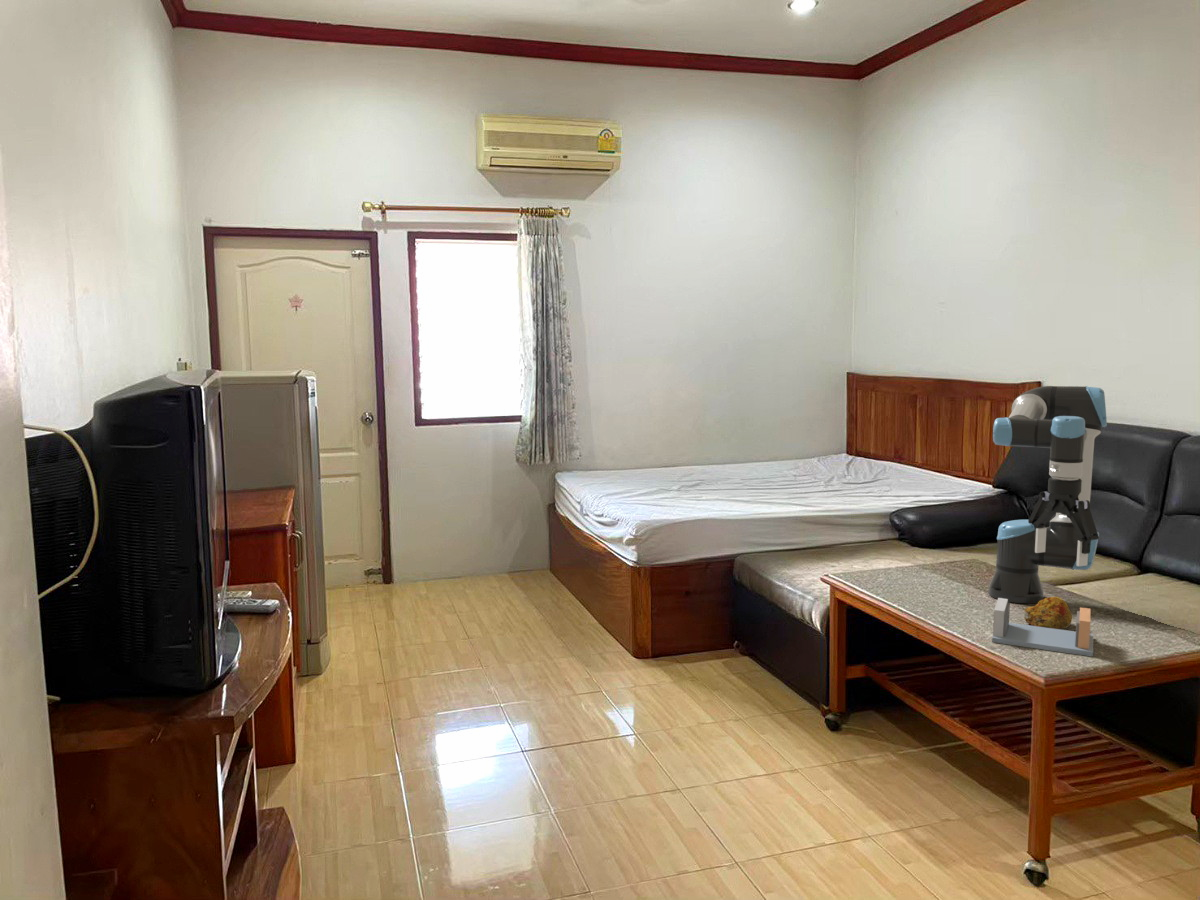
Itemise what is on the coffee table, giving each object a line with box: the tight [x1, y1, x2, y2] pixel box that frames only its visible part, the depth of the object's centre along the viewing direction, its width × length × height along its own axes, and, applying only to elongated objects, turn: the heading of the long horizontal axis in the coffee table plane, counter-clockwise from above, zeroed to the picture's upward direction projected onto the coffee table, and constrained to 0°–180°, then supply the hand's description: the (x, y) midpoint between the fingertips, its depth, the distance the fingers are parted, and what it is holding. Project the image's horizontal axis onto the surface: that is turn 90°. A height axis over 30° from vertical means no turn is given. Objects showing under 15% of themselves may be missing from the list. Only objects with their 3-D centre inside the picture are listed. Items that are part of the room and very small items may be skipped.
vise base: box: [991, 598, 1094, 657], centre depth 233 cm, size 15×23×8 cm, turn 62°
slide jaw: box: [1075, 607, 1091, 649], centre depth 229 cm, size 12×3×7 cm, turn 152°
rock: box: [1023, 596, 1073, 630], centre depth 245 cm, size 11×8×10 cm
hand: (1060, 558), depth 230 cm, fingers open, 13 cm apart
